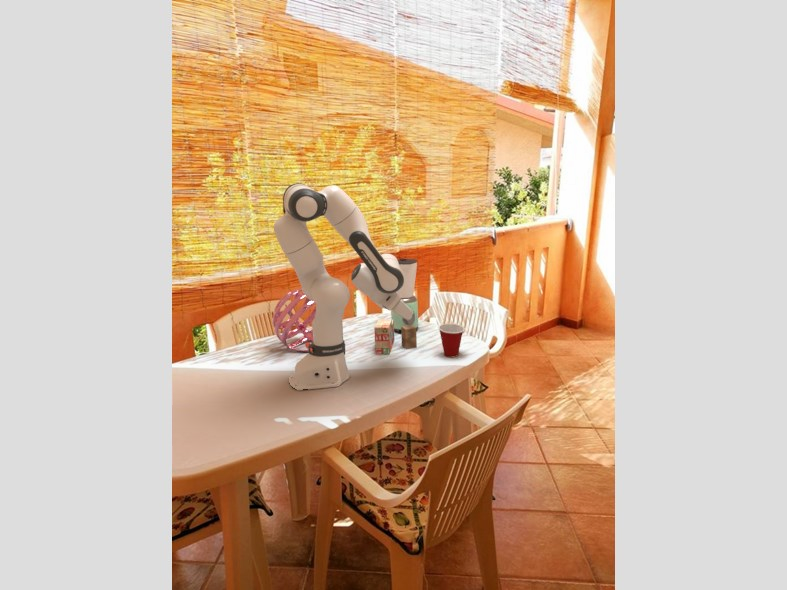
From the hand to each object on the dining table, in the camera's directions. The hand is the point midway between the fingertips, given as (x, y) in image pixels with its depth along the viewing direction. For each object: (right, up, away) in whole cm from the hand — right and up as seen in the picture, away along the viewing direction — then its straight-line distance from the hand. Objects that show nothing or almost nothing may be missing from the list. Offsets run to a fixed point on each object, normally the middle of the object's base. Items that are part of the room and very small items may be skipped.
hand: (409, 317), depth 192 cm
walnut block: (0, -14, +23) cm, 27 cm away
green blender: (-1, -8, +47) cm, 48 cm away
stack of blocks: (-10, -14, +24) cm, 30 cm away
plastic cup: (+18, -16, +11) cm, 27 cm away
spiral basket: (-46, -15, +27) cm, 56 cm away
